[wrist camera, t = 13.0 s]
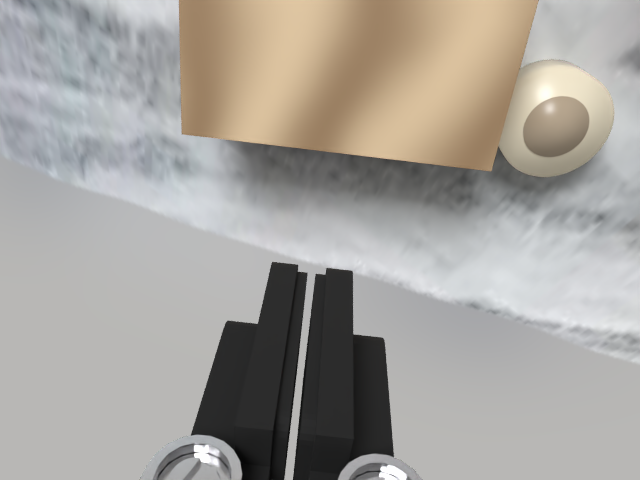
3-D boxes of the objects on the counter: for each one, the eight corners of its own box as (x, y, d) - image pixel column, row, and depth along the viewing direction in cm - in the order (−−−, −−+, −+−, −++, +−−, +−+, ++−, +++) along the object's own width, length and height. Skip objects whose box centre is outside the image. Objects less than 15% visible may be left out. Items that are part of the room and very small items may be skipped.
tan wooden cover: (185, 131, 24) (181, 134, 23) (181, -66, 20) (177, -67, 20) (488, 167, 24) (491, 171, 23) (540, -23, 20) (545, -23, 20)
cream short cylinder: (476, 151, 30) (485, 170, 27) (506, 52, 27) (520, 64, 24) (571, 164, 30) (587, 184, 27) (612, 67, 27) (634, 80, 24)
